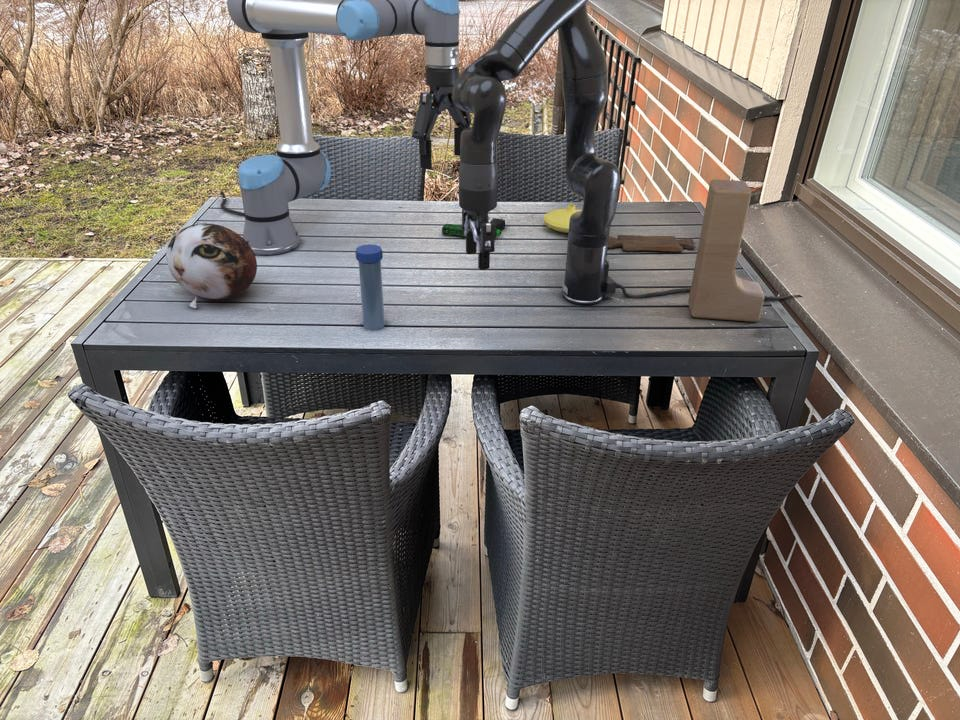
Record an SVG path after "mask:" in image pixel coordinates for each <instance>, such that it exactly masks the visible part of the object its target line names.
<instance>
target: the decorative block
mask: <svg viewBox="0 0 960 720" xmlns="http://www.w3.org/2000/svg"><path fill="white" fill-rule="evenodd" d="M751 197H752V190H751V188H750V187H749V185H748V184H747V182H746V181H745V180H734V179H715V178H714V179H711V180H710V182H709V185H708V191H707V195H706V203H705V207H704V213H703V219H702V223H701V224H702V225H701V230H700V234H699V241H698V246H697V252H696V257H695V263H694V268H693V269H694V270H693V274H692V279H691V284H690V285H691V286H690V288H691V290H690V292H689V295H688V301H687V304H688V307H689V311H690V315H691V317H692V318H697V319H698V318H699V319H711V320H725V321H735V322H736V321H737V322H739V321H740V322H751V323H757V322H759V321H760V319H761V314H762V310H763V306H764V302H765V299H764V298H765V297H764V296H765V294H764V291H763V289H762V287H761V285H760V283H759V282H758V281H752V280H748V279H744V278H740V277H739V276H738V275H737V274H736V267H737V263H738V258H739V253H740V250H741V249H740V248H741V244H742V239H743V234H744V231H745V227H746V226H745V225H746V220H747V217H748V211H749V205H750V202H751Z"/></svg>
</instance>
